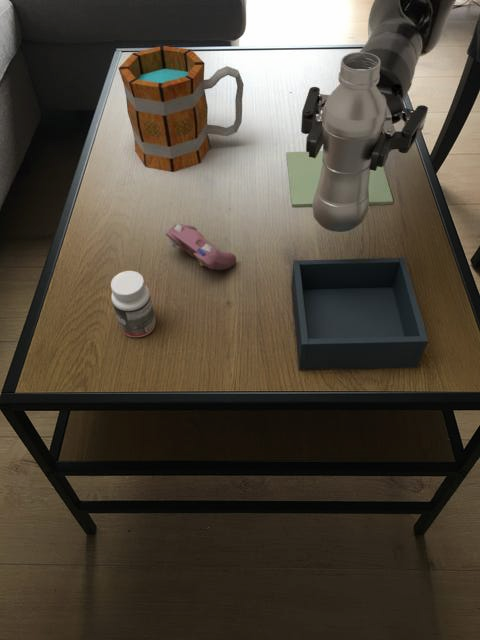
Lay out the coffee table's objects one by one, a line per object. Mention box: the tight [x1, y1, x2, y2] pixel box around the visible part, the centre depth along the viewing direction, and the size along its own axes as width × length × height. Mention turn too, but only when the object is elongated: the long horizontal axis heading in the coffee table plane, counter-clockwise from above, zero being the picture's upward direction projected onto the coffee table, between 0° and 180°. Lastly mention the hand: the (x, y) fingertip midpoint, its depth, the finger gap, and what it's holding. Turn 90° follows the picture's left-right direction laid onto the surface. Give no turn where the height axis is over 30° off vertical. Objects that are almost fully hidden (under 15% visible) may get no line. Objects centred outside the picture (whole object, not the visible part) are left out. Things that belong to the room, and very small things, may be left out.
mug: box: [118, 45, 245, 173], centre depth 90 cm, size 20×14×15 cm
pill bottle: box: [110, 270, 157, 338], centre depth 68 cm, size 5×5×8 cm
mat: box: [285, 150, 394, 208], centre depth 90 cm, size 16×14×1 cm
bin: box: [290, 257, 429, 371], centre depth 68 cm, size 15×14×6 cm
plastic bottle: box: [311, 51, 387, 233], centre depth 59 cm, size 6×7×20 cm
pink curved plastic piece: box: [165, 222, 237, 270], centre depth 77 cm, size 10×5×7 cm, turn 45°
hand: (342, 156), depth 57 cm, fingers closed on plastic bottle, 6 cm apart
